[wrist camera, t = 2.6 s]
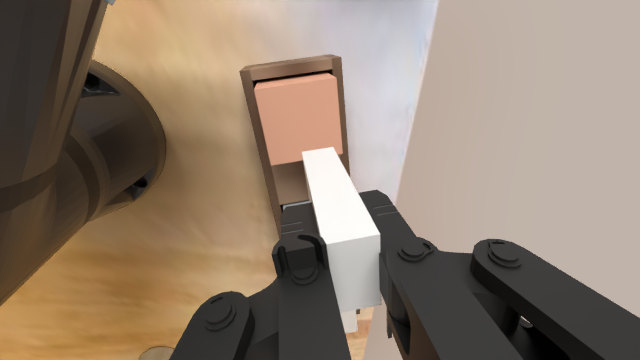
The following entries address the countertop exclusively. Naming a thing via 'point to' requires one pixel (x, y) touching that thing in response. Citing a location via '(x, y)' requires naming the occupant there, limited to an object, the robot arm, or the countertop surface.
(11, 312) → the countertop surface
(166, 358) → the flower pot
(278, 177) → the brown wooden long tray
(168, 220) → the countertop surface
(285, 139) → the terracotta key
